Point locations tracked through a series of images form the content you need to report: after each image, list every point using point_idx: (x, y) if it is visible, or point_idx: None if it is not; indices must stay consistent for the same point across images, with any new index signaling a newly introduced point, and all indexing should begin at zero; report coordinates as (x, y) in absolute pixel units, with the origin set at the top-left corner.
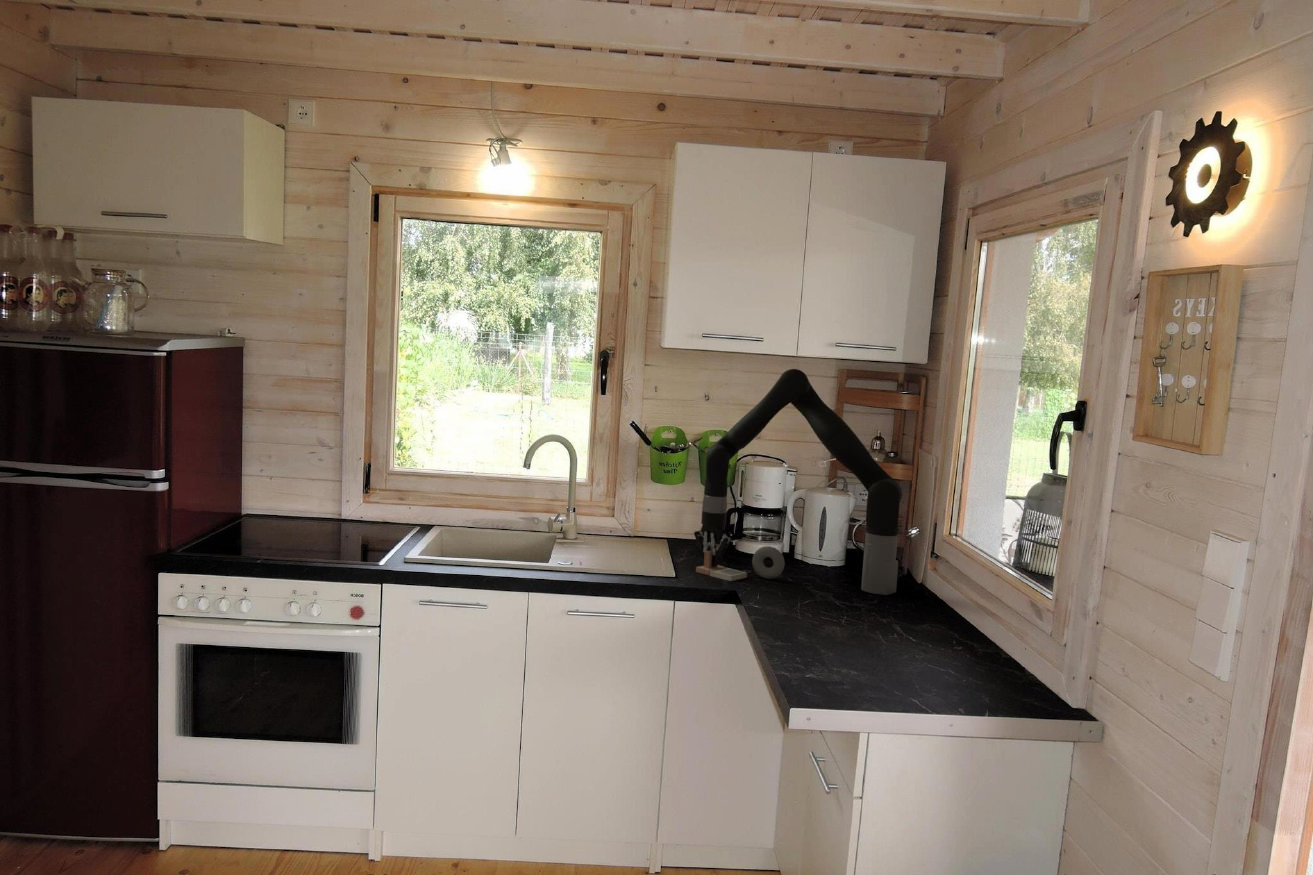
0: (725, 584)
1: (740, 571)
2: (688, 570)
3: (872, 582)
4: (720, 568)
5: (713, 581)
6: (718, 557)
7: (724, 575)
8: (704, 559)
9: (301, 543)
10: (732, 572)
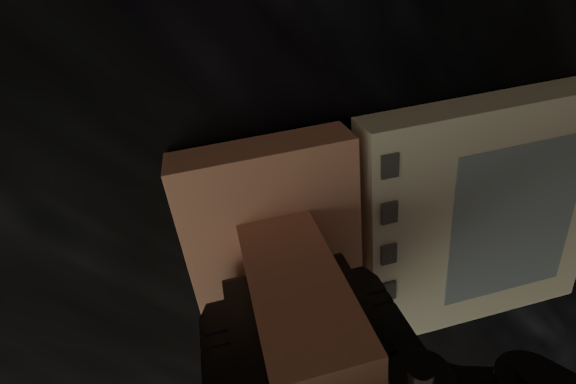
0: (552, 336)
1: (565, 113)
2: (137, 372)
3: None
4: (359, 211)
5: (468, 361)
6: (410, 333)
7: (510, 303)
8: None
9: None
10: (534, 220)
